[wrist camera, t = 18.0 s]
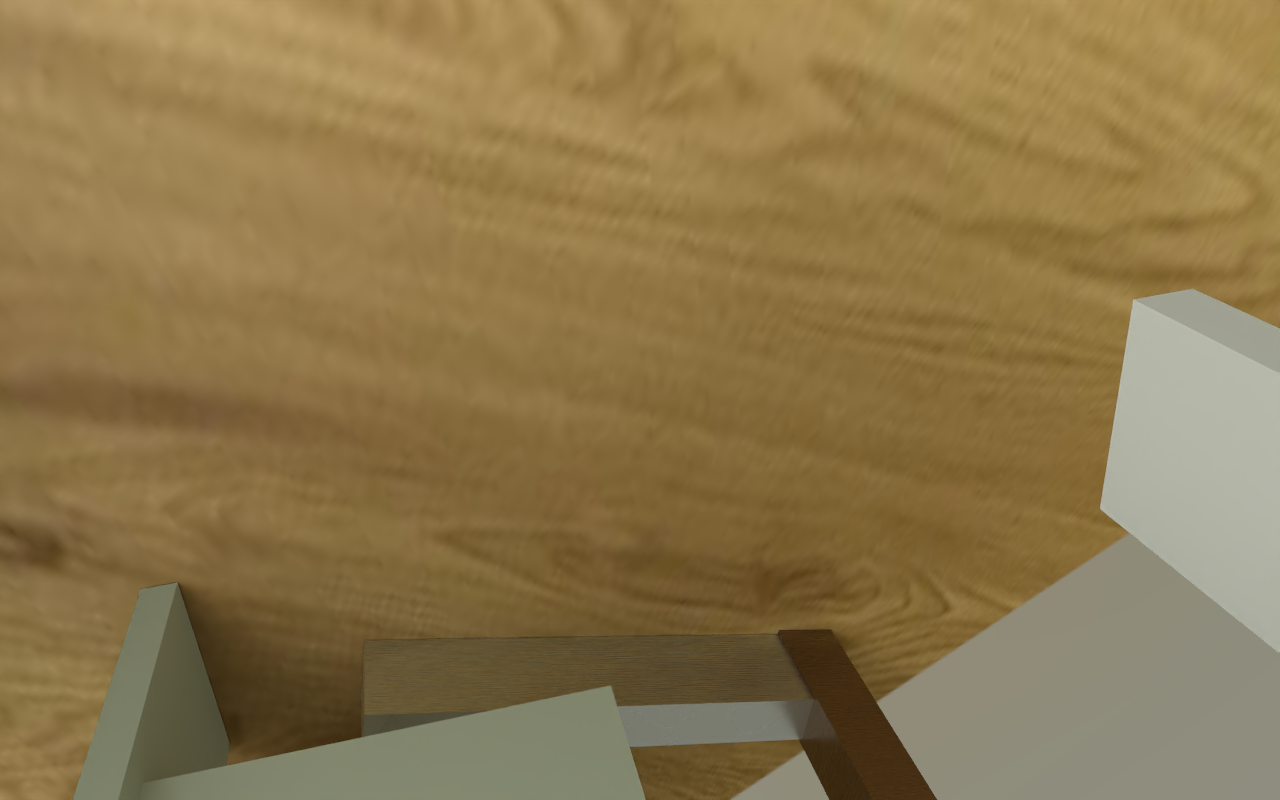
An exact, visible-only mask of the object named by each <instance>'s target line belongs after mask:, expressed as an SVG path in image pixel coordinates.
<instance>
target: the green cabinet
mask: <svg viewBox="0 0 1280 800" xmlns="http://www.w3.org/2000/svg"><path fill="white" fill-rule="evenodd" d="M229 746H230V742H229V739H228V736H227V733H226V730H225V727H224V724H223V721H222V718H221V715H220V712H219V709H218V705H217V702H216V699H215V696H214V693H213V690H212V687H211V684H210V681H209V678H208V675H207V672H206V669H205V666H204V662H203V659H202V656H201V653H200V650H199V647H198V644H197V641H196V638H195V635H194V632H193V629H192V626H191V622H190V619H189V616H188V613H187V610H186V607H185V604H184V601H183V598H182V595H181V592H180V589H179V586H178V583H173V584H167V585H161V586H156V587H150V588H144V589H141V590H140V593H139V596H138V599H137V602H136V606H135V609H134V612H133V615H132V618H131V621H130V624H129V627H128V630H127V633H126V637H125V640H124V643H123V646H122V649H121V652H120V655H119V658H118V661H117V664H116V668H115V671H114V674H113V677H112V680H111V683H110V686H109V689H108V692H107V695H106V699H105V702H104V705H103V708H102V711H101V714H100V717H99V720H98V723H97V726H96V729H95V733H94V736H93V739H92V742H91V745H90V748H89V751H88V754H87V757H86V760H85V764H84V767H83V770H82V773H81V776H80V779H79V782H78V785H77V788H76V791H75V795H74V798H73V800H646V799H645V796H644V792H643V789H642V786H641V782H640V779H639V776H638V773H637V769H636V766H635V763H634V759H633V756H632V753H631V750H630V746H629V743H628V740H627V736H626V733H625V730H624V727H623V723H622V720H621V717H620V713H619V710H618V707H617V704H616V700H615V697H614V694H613V690H612V687H611V685H610V686H605V687H600V688H596V689H591V690H586V691H581V692H577V693H572V694H567V695H562V696H557V697H553V698H548V699H543V700H538V701H534V702H529V703H524V704H519V705H514V706H510V707H505V708H500V709H495V710H491V711H486V712H481V713H476V714H471V715H467V716H462V717H457V718H452V719H447V720H443V721H438V722H433V723H428V724H424V725H419V726H414V727H409V728H404V729H400V730H395V731H390V732H385V733H381V734H376V735H371V736H366V737H361V738H357V739H352V740H347V741H342V742H338V743H333V744H328V745H323V746H318V747H314V748H309V749H304V750H299V751H294V752H290V753H285V754H280V755H275V756H271V757H266V758H261V759H256V760H251V761H247V762H242V763H237V764H232V765H228V766H226V764H227V758H228V752H229Z"/></svg>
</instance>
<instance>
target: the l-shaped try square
mask: <svg viewBox="0 0 1280 800" xmlns="http://www.w3.org/2000/svg"><path fill="white" fill-rule="evenodd" d="M610 685H611V687H612V690H613V694H614V697H615V700H616V704H617V707H618V710H619V713H620V717H621V720H622V723H623V727H624V730H625V733H626V736H627V740H628V743H629V746H630V747H645V746H667V745H689V744H711V743H733V742H755V741H777V740H800V742H801V744H802V746H803V748H804V750H805V752H806V754H807V756H808V758H809V760H810V762H811V764H812V766H813V768H814V770H815V772H816V774H817V776H818V778H819V780H820V782H821V784H822V786H823V787H824V790H825V792H826V794H827V796H828V798H829V800H937V799H936V798H935V796H934V794H933V793H932V791H931V789H930V788H929V786H928V784H927V783H926V781H925V780H924V778H923V777H922V775H921V773H920V772H919V770H918V769H917V767H916V765H915V764H914V762H913V761H912V759H911V757H910V756H909V754H908V753H907V751H906V749H905V748H904V746H903V744H902V743H901V741H900V740H899V738H898V736H897V735H896V733H895V732H894V730H893V728H892V727H891V725H890V724H889V722H888V720H887V719H886V717H885V716H884V714H883V712H882V711H881V709H880V708H879V706H878V704H877V703H876V701H875V700H874V698H873V696H872V695H871V693H870V692H869V690H868V688H867V687H866V685H865V684H864V682H863V680H862V679H861V677H860V676H859V674H858V672H857V671H856V669H855V668H854V666H853V664H852V663H851V661H850V660H849V658H848V656H847V655H846V653H845V652H844V650H843V648H842V647H841V645H840V644H839V642H838V640H837V639H836V637H835V636H834V634H833V632H832V631H831V630H779V632H778V634H755V635H683V636H611V637H538V638H466V639H393V640H365V644H364V658H363V672H362V717H361V737H366V736H371V735H376V734H381V733H385V732H390V731H395V730H400V729H404V728H409V727H414V726H419V725H424V724H428V723H433V722H438V721H443V720H447V719H452V718H457V717H462V716H467V715H471V714H476V713H481V712H486V711H491V710H495V709H500V708H505V707H510V706H514V705H519V704H524V703H529V702H534V701H538V700H543V699H548V698H553V697H557V696H562V695H567V694H572V693H577V692H581V691H586V690H591V689H596V688H600V687H605V686H610Z"/></svg>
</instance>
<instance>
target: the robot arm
mask: <svg viewBox="0 0 1280 800" xmlns="http://www.w3.org/2000/svg"><path fill="white" fill-rule="evenodd" d="M1100 509H1101V510H1102V511H1103V512H1104V513H1106V514H1107V515H1108V516H1109V517H1111V518H1112V519H1113V520H1114V521H1116V522H1117V523H1118V524H1119V525H1121V526H1122V527H1123V528H1124V529H1126V530H1127V531H1128V532H1129V533H1130V534H1132V535H1133V536H1134V537H1135V538H1137V539H1138V540H1139V541H1140V542H1142V543H1143V544H1144V545H1145V546H1147V547H1148V548H1149V549H1150V550H1152V551H1153V552H1154V553H1155V554H1157V555H1158V556H1159V557H1160V558H1162V559H1163V560H1164V561H1165V562H1167V563H1168V564H1169V565H1170V566H1172V567H1173V568H1174V569H1175V570H1177V571H1178V572H1179V573H1180V574H1181V575H1183V576H1184V577H1185V578H1186V579H1188V580H1189V581H1190V582H1191V583H1193V584H1194V585H1195V586H1196V587H1198V588H1199V589H1200V590H1201V591H1203V592H1204V593H1205V594H1207V595H1208V596H1209V597H1210V598H1211V599H1213V600H1214V601H1215V602H1216V603H1218V604H1219V605H1220V606H1221V607H1223V608H1224V609H1225V610H1226V611H1228V612H1229V613H1230V614H1231V615H1232V616H1234V617H1235V618H1236V619H1237V620H1239V621H1240V622H1241V623H1242V624H1244V625H1245V626H1246V627H1247V628H1249V629H1250V630H1251V631H1252V632H1254V633H1255V634H1256V635H1257V636H1259V637H1260V638H1261V639H1262V640H1264V641H1265V642H1266V643H1267V644H1269V645H1270V646H1271V647H1272V648H1274V649H1275V650H1276V651H1277V652H1279V653H1280V329H1279V328H1277V327H1275V326H1273V325H1271V324H1269V323H1266V322H1264V321H1262V320H1260V319H1258V318H1255V317H1253V316H1251V315H1249V314H1247V313H1245V312H1242V311H1240V310H1238V309H1236V308H1234V307H1231V306H1229V305H1227V304H1225V303H1223V302H1221V301H1218V300H1216V299H1214V298H1212V297H1210V296H1207V295H1205V294H1203V293H1201V292H1199V291H1197V290H1194V289H1189V290H1184V291H1178V292H1173V293H1167V294H1162V295H1156V296H1150V297H1145V298H1139V299H1134V300H1133V305H1132V311H1131V318H1130V324H1129V330H1128V336H1127V343H1126V349H1125V355H1124V361H1123V368H1122V374H1121V380H1120V386H1119V393H1118V399H1117V405H1116V411H1115V418H1114V424H1113V430H1112V436H1111V443H1110V449H1109V455H1108V461H1107V468H1106V474H1105V480H1104V486H1103V493H1102V499H1101V505H1100Z"/></svg>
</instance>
